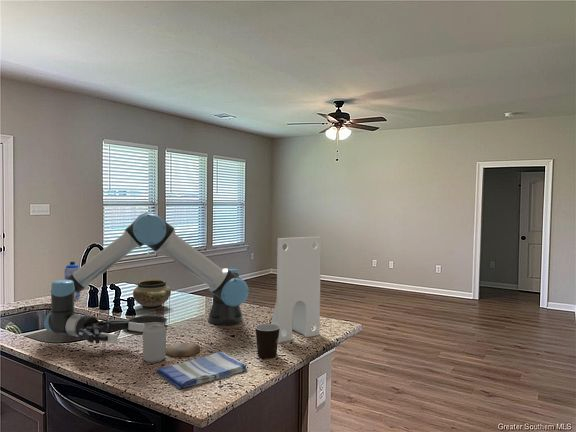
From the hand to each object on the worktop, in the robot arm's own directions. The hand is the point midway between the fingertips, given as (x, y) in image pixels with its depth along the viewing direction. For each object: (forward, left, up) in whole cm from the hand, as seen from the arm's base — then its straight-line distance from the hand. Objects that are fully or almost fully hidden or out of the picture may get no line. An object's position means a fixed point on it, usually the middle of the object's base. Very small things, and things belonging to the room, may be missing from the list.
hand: (131, 333), depth 146 cm
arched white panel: (-60, -11, -8) cm, 62 cm away
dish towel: (-23, +19, -8) cm, 31 cm away
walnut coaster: (-17, 0, -8) cm, 19 cm away
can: (-8, +6, -8) cm, 13 cm away
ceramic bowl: (-4, -66, -8) cm, 67 cm away
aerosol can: (+38, -94, -8) cm, 102 cm away
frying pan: (-4, -27, -8) cm, 28 cm away
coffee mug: (-47, +10, -8) cm, 49 cm away
